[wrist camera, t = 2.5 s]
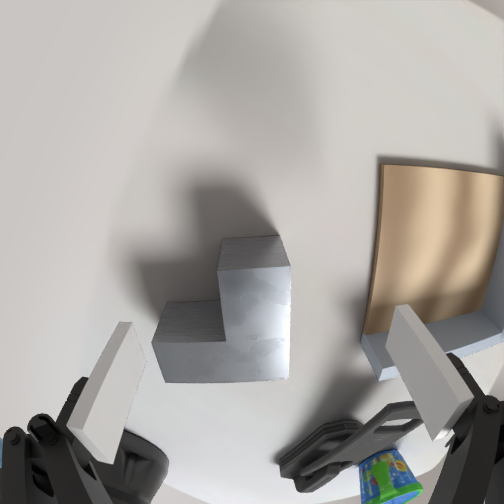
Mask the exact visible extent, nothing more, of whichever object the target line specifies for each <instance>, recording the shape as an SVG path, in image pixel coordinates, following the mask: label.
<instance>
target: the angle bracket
mask: <svg viewBox="0 0 504 504" xmlns="http://www.w3.org/2000/svg"><path fill="white" fill-rule="evenodd" d="M217 275H218V283H219V291H220V299H221V300H217V301H195V302H167V303H166V306H165V308H164V311H163V313H162V316H161V318H160V321H159V324H158V326H157V329H156V331H155V334H154V337H153V339H152V342H151V343H152V346H153V349H154V352H155V355H156V358H157V361H158V364H159V367H160V369H161V372H162V375H163V378H164V380H165V383H235V382H254V381H269V380H281V379H288V378H289V348H290V292H291V266H290V263H289V260H288V257H287V254H286V252H285V249H284V246H283V243H282V241H281V238H280V235H276V236H260V237H244V238H229V239H222V244H221V250H220V256H219V262H218V268H217Z"/></svg>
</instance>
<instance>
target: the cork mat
mask: <svg viewBox="0 0 504 504" xmlns="http://www.w3.org/2000/svg"><path fill="white" fill-rule="evenodd" d="M503 219H504V176H499V175H493V174H486V173H479V172H472V171H464V170H455V169H446V168H435V167H424V166H410V165H394V164H381V171H380V197H379V213H378V226H377V238H376V248H375V257H374V265H373V273H372V280H371V287H370V294H369V300H368V306H367V312H366V317H365V323H364V328H363V332H364V334H365V335H369V334H375V333H381V332H387V331H390V327H391V323H392V319H393V315H394V310H395V306H397V305H404V304H408V305H409V306H410V307H411V308H412V310H413V311H414V312H415V314H416V315H417V316H418V317H419V319H420V320H421V321H422V323H423V324H427V323H432V322H436V321H440V320H445V319H449V318H453V317H457V316H461V315H465V314H468V313H472V312H476V311H479V310H480V309H481V307H482V304H483V301H484V298H485V294H486V291H487V288H488V285H489V281H490V278H491V274H492V270H493V267H494V263H495V259H496V254H497V250H498V245H499V241H500V236H501V230H502V225H503Z"/></svg>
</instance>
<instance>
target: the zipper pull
mask: <svg viewBox="0 0 504 504" xmlns="http://www.w3.org/2000/svg"><path fill="white" fill-rule="evenodd" d="M398 419H412V420H411V421H409V422H407V423H405V424H403V425H396V426H381V425H382V424H383V423H385V422H386V421H392V420H398ZM422 423H424V422H423V420H422V417H421V415H420V413H419V411H418V409H417V407H416V405H415V403H414V401H404V402H397V403H390V404H388V405H386V406H385V407H384V408H383V409H382V410H381V411H380V412H379V413H378V414H376V415H375V416H374V417H373V418H372V419H371V420H369V421H368V422H367V423H366V424H365V425H364V426H363V425H362V424H361V423H359V422H358V421H356V420H341V421H337V422H332V423H328V424H323V425H322V426H320V427H319V428H318V429H317V430H316V431H315V432H313V433H312V434H311V435H310V436H309V437H307V438H306V439H305V440H304V441H303V442H301V443H300V444H299V445H298V446H296V447H295V448H294V449H293V450H291V451H290V452H289V453H287V454H286V455H285V456H283V457H282V458H281V459H280V475H281V477H283V478H288V479H293V480H294V483H295V487H296V490H297V491H298V492H300V493H308V492H314V491H315V490H317V489H319V488H320V487H322V486H323V485H325V484H326V483H328V482H329V481H331V480H332V479H333V478H335V477H336V476H337V475H338V474H339V472H340V471H342V470H344V469H346V468H348V467H350V466H352V465H354V464H356V463H358V462H359V461H361V460H363V459H365V458H367V457H369V456H371V455H372V454H374V453H376V452H378V451H380V450H381V449H383V448H385V447H386V446H388V445H390V444H391V443H393V442H395V441H396V440H398V439H400V438H401V437H403V436H404V435H406V434H407V433H409V432H410V431H412V430H414V429H415V428H416V427H418V426H419V425H421V424H422Z"/></svg>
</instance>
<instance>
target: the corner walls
mask: <svg viewBox="0 0 504 504" xmlns="http://www.w3.org/2000/svg"><path fill="white" fill-rule="evenodd" d="M424 325H425V327H426V328H427V329H428V331H429V332H430V333H431V335H432V336H433V337H434V339H435V340H436V341H437V343H438V344H439V346H440V347H441V348H442V350H443V351H444V353H445V354H446V353H450V352H452V353H453V354H454V355H456V356H457V357H458V358H462V357H465V356H468V355H471V354H473V353H476V352H478V351H481V350H484V349H486V348H489V347H491V346H493V345H496V344H498V343H501V342H503V341H504V219H503V225H502V230H501V236H500V241H499V245H498V250H497V254H496V259H495V263H494V267H493V270H492V274H491V278H490V281H489V285H488V288H487V291H486V294H485V298H484V301H483V304H482V307H481V309H480V310H479V311H476V312H472V313H468V314H465V315H461V316H457V317H453V318H449V319H445V320H440V321H436V322H432V323H427V324H424ZM388 334H389V331H387V332H381V333H375V334H369V335H365V334H364V332H363V333H362V338H361V343H360V344H361V346H362V348H363V350H364V352H365V354H366V356H367V358H368V360H369V362H370V364H371V366H372V368H373V370H374V372H375V374H376V377H377V379H378V381H382V380H386V379H391V378H395V377H399V376H401V375H400V373H399V371H398V370H397V368H396V366H395V364H394V362H393V360H392V358H391V356H390V355H389V353H388V351H387V349H386V347H385V345H386V342H387V338H388Z"/></svg>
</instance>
